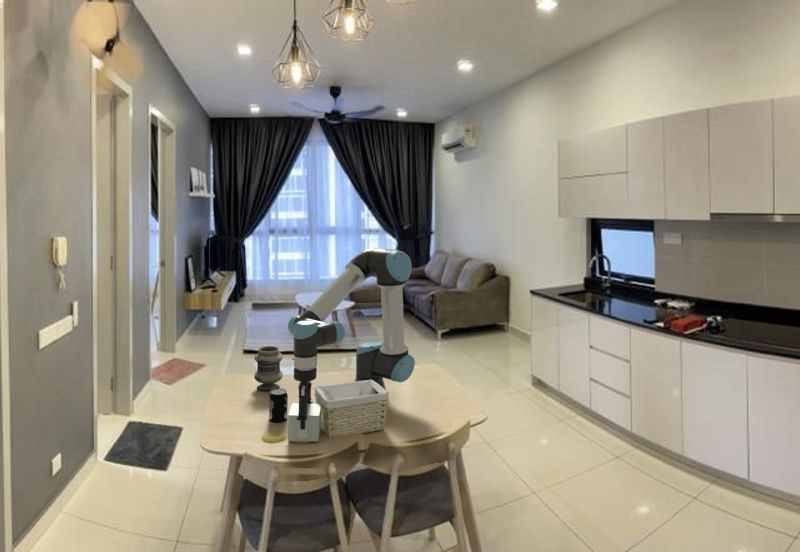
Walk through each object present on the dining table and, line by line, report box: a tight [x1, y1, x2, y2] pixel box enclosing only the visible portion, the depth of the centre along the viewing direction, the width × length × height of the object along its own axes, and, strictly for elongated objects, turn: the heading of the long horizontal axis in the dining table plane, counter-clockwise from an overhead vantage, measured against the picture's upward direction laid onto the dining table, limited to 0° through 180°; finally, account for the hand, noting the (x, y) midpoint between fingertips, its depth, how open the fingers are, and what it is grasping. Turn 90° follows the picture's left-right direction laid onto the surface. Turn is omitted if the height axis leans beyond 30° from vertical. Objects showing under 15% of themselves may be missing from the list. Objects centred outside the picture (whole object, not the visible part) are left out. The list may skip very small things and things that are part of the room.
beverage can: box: [268, 388, 289, 424], centre depth 180 cm, size 7×7×12 cm
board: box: [261, 431, 312, 447], centre depth 167 cm, size 18×13×5 cm
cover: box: [287, 402, 322, 442], centre depth 167 cm, size 10×10×9 cm
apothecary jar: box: [253, 345, 284, 393], centre depth 215 cm, size 12×12×18 cm
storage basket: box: [314, 380, 389, 438], centre depth 179 cm, size 24×16×15 cm
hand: (304, 430), depth 167 cm, fingers closed on cover, 10 cm apart
